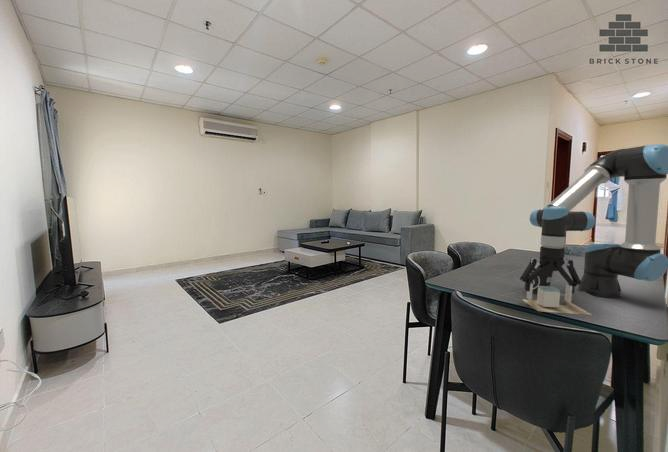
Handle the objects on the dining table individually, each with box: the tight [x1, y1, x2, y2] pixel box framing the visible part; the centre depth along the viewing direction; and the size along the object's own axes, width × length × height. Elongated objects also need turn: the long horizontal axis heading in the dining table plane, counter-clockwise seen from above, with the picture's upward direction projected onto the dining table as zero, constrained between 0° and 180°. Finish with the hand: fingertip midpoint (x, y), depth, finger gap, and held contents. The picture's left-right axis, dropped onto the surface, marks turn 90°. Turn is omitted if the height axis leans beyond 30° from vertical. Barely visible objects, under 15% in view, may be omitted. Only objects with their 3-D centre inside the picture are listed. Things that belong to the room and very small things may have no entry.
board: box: [521, 298, 593, 316], centre depth 114 cm, size 18×13×1 cm
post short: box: [559, 292, 567, 305], centre depth 117 cm, size 3×3×4 cm
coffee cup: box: [531, 262, 554, 295], centre depth 131 cm, size 10×10×15 cm
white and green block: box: [536, 285, 561, 307], centre depth 113 cm, size 5×5×7 cm
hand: (548, 300), depth 114 cm, fingers open, 13 cm apart
